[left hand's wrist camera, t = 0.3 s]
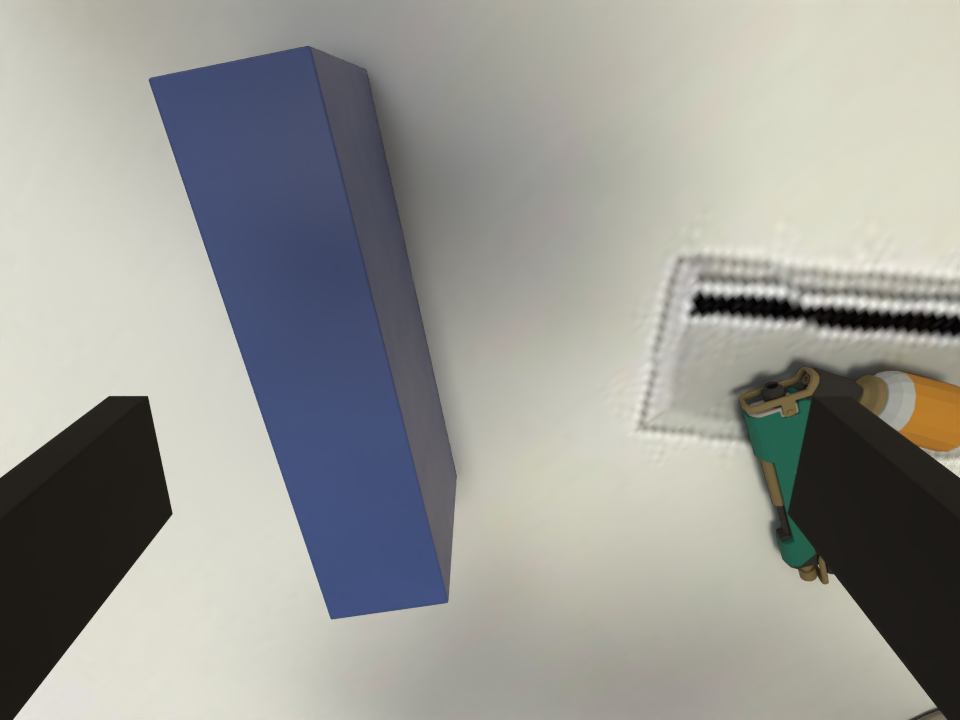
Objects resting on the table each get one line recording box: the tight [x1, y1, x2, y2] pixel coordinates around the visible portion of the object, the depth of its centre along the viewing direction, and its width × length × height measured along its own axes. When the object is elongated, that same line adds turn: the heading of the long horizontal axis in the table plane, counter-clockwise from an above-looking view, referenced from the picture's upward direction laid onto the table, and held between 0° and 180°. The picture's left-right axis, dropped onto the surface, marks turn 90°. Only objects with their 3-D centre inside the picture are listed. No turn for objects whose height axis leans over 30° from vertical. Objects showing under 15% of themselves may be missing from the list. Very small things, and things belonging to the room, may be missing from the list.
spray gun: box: [739, 366, 960, 584], centre depth 41 cm, size 4×17×15 cm
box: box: [149, 46, 457, 619], centre depth 33 cm, size 26×6×12 cm, turn 10°
